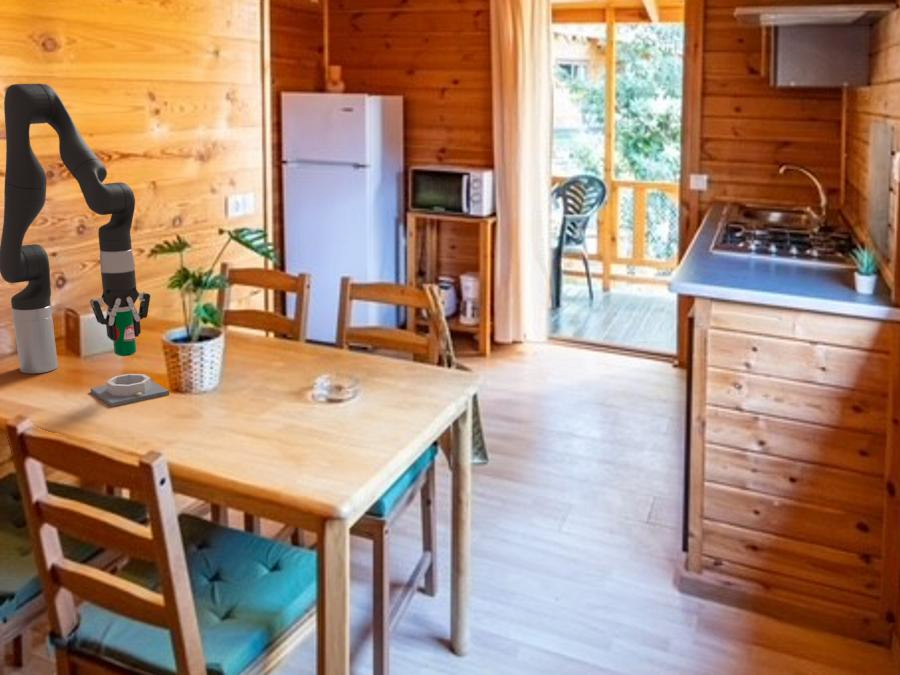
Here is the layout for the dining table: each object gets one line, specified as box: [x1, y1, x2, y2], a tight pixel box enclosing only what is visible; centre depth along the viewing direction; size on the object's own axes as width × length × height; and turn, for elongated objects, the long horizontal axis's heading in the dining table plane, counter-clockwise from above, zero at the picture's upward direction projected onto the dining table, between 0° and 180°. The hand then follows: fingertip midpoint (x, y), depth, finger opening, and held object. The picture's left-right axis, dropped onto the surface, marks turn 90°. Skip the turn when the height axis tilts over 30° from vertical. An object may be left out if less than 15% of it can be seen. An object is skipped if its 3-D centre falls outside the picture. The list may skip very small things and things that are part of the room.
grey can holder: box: [90, 373, 170, 408], centre depth 210 cm, size 14×14×4 cm
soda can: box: [110, 306, 137, 357], centre depth 206 cm, size 5×5×12 cm
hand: (124, 337), depth 207 cm, fingers closed on soda can, 5 cm apart
